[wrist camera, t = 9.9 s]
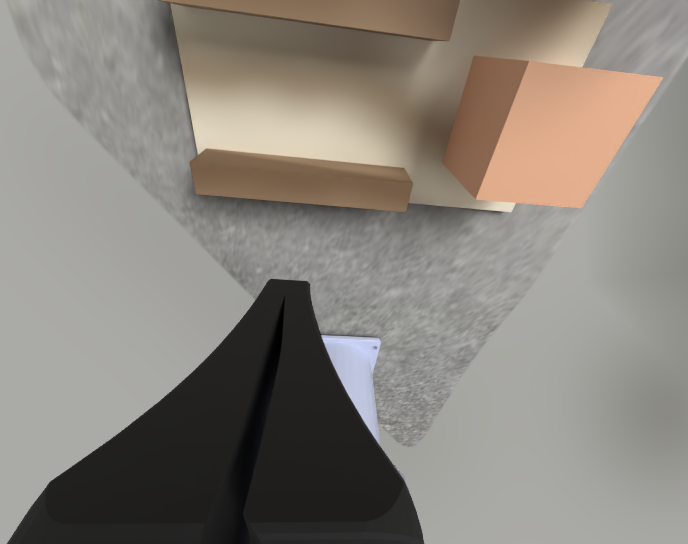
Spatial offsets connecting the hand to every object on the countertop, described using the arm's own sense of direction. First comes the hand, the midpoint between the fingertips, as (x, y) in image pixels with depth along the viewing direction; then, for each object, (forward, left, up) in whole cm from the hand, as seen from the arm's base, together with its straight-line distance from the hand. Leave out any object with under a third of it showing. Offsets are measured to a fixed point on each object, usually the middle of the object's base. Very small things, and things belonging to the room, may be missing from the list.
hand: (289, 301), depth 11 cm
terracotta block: (+5, -10, -9) cm, 15 cm away
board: (+5, -3, -10) cm, 12 cm away
